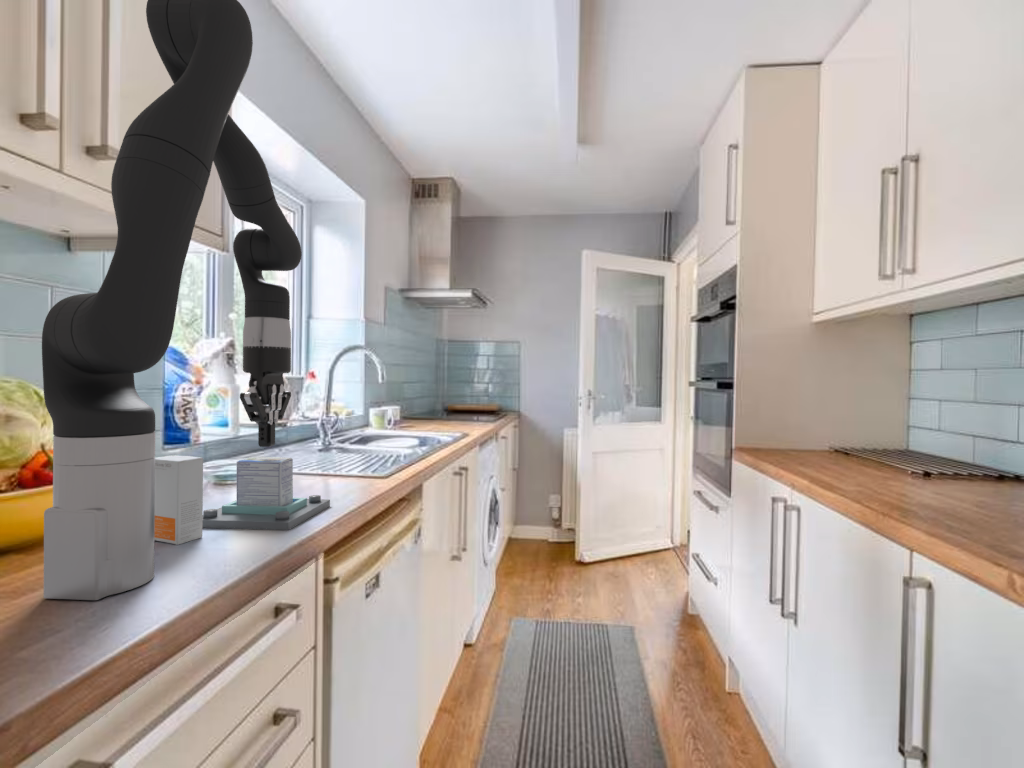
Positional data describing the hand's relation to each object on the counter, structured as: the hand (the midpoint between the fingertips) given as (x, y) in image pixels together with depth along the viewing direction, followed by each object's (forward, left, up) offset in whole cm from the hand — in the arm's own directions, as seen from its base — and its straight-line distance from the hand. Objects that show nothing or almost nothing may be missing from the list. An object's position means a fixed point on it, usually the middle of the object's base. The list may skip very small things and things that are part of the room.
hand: (266, 446), depth 91 cm
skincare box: (-14, +6, -12) cm, 20 cm away
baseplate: (0, 0, -12) cm, 12 cm away
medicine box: (0, 0, -11) cm, 11 cm away
